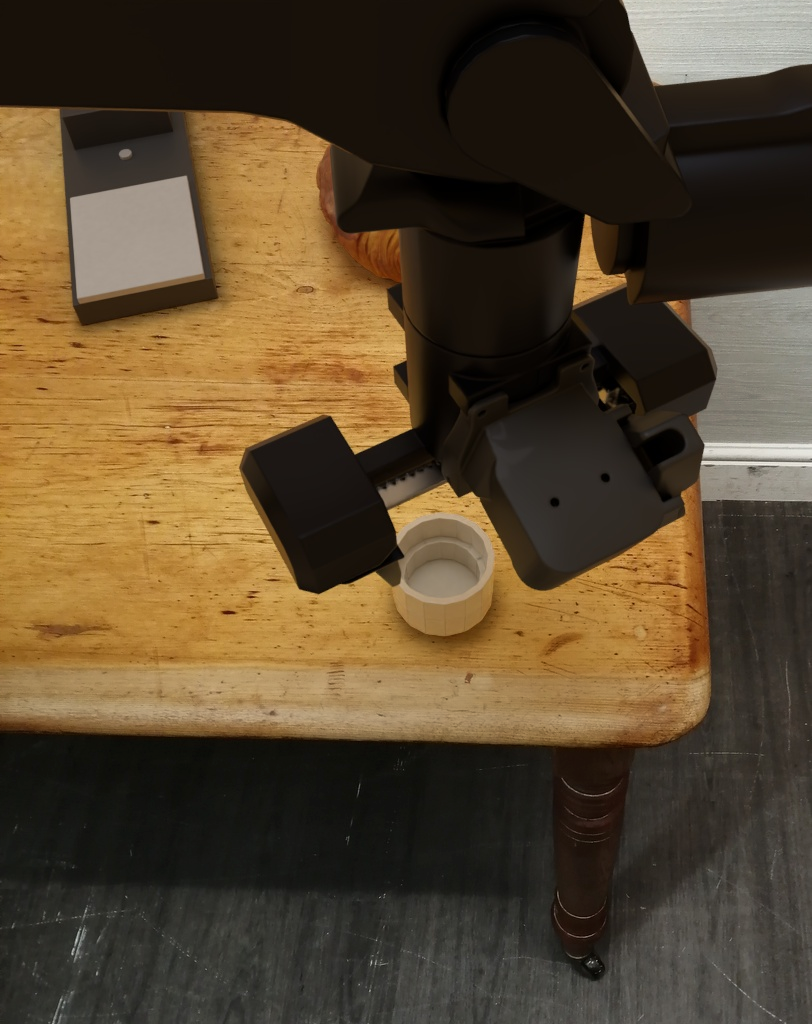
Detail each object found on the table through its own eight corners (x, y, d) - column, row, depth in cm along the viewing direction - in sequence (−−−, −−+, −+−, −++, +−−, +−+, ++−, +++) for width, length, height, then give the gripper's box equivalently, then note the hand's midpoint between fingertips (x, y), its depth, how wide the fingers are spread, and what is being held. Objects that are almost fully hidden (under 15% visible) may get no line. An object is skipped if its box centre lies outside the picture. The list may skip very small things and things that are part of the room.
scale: (81, 325, 71) (56, 271, 67) (66, 110, 85) (44, 54, 81) (218, 298, 72) (202, 243, 68) (180, 89, 86) (165, 32, 82)
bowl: (406, 650, 56) (402, 614, 53) (384, 564, 60) (379, 525, 56) (504, 626, 57) (507, 590, 53) (477, 543, 60) (478, 503, 56)
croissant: (348, 325, 73) (337, 255, 66) (307, 169, 79) (292, 90, 72) (536, 282, 74) (545, 208, 67) (480, 131, 80) (483, 49, 73)
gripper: (342, 603, 27) (379, 780, 40) (874, 345, 31) (750, 582, 44) (194, 339, 32) (270, 570, 46) (663, 149, 37) (608, 412, 50)
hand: (478, 535), depth 46 cm, fingers open, 9 cm apart
